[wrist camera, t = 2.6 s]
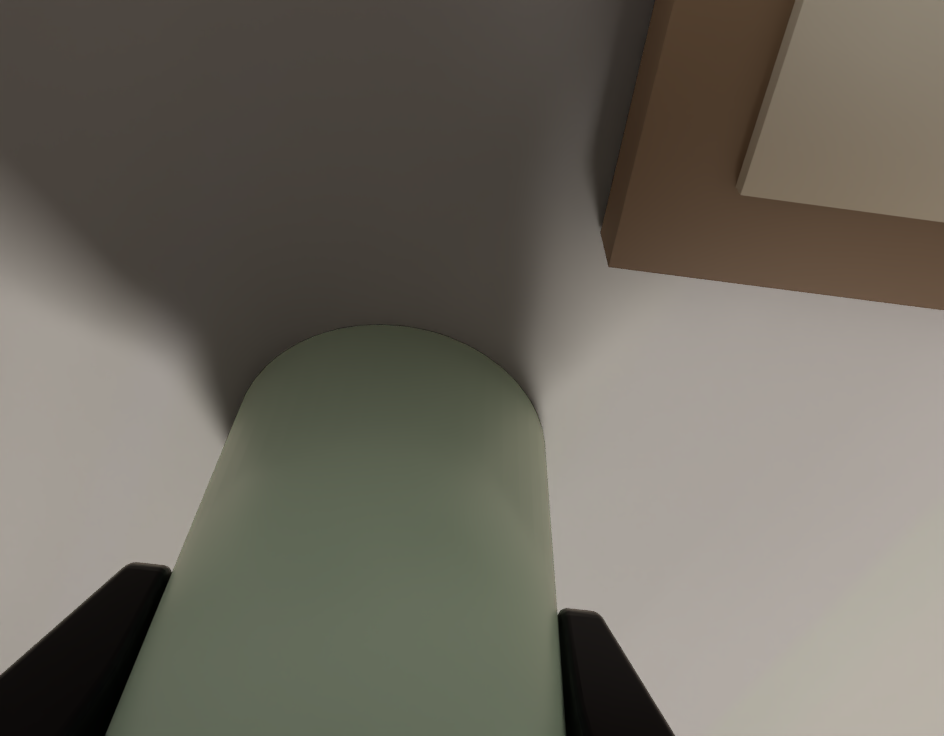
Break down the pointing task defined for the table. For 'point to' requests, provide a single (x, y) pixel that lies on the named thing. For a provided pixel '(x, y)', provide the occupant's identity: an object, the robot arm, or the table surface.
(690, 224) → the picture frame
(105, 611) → the robot arm
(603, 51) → the table surface
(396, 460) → the canister
